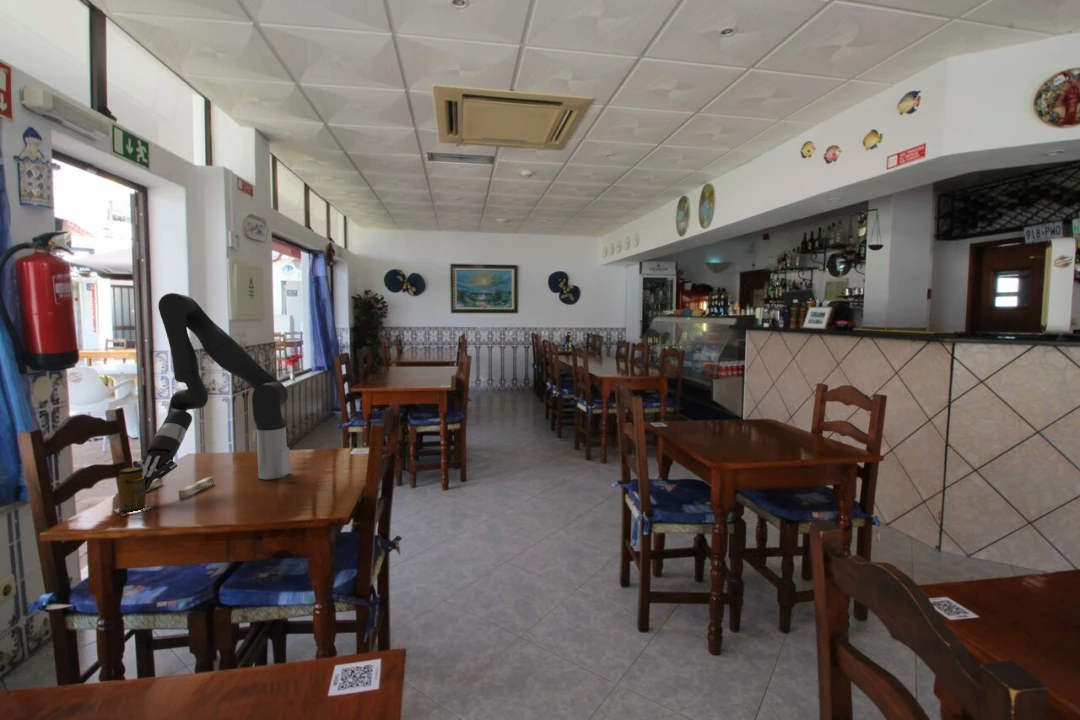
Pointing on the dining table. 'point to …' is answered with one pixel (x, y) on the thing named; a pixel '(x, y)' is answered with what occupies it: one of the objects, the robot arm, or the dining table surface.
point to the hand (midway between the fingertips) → (141, 490)
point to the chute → (188, 490)
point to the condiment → (131, 490)
